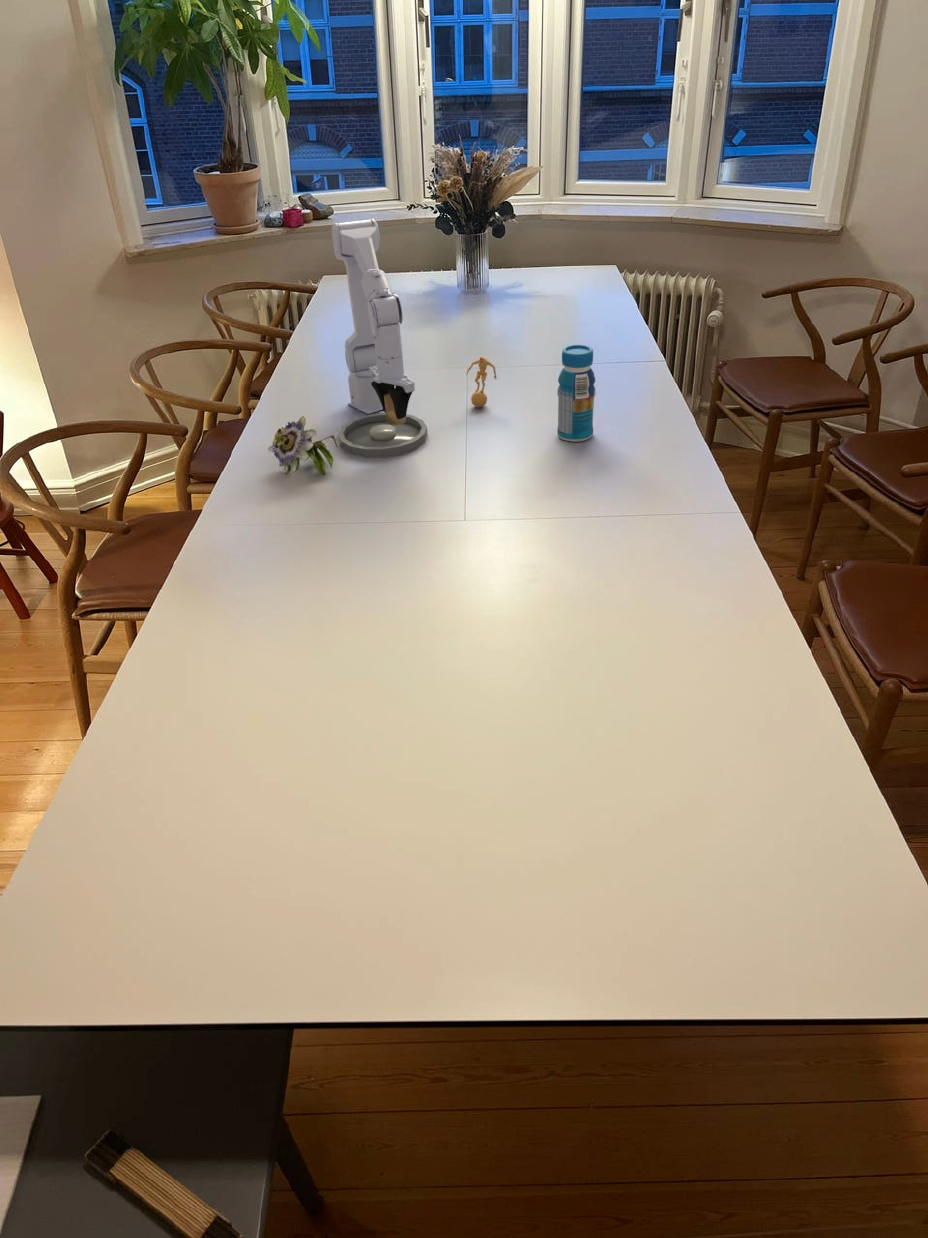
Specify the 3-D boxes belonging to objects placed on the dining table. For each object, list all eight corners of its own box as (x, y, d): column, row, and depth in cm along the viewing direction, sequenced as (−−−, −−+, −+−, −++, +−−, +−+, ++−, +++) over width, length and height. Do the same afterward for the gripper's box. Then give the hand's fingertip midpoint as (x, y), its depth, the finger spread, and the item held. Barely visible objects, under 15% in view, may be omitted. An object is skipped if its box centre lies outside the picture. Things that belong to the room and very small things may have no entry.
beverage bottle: (550, 439, 200) (552, 353, 188) (565, 425, 206) (566, 340, 194) (585, 445, 197) (589, 357, 185) (598, 430, 202) (603, 345, 191)
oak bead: (382, 421, 198) (380, 395, 194) (398, 415, 200) (395, 389, 196) (394, 426, 195) (392, 400, 191) (410, 420, 197) (407, 394, 194)
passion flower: (292, 497, 196) (253, 448, 192) (327, 466, 202) (289, 419, 198) (318, 481, 186) (276, 430, 182) (354, 450, 192) (314, 400, 188)
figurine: (461, 406, 218) (458, 359, 211) (473, 398, 222) (471, 351, 215) (490, 412, 214) (488, 364, 207) (501, 403, 218) (500, 356, 211)
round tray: (323, 437, 206) (322, 429, 205) (394, 413, 216) (393, 405, 215) (371, 465, 193) (370, 457, 192) (444, 438, 203) (443, 430, 202)
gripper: (355, 351, 191) (362, 410, 199) (393, 367, 182) (399, 429, 190) (381, 343, 194) (387, 401, 202) (420, 359, 185) (425, 419, 193)
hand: (395, 414), depth 196 cm, fingers closed on oak bead, 4 cm apart
